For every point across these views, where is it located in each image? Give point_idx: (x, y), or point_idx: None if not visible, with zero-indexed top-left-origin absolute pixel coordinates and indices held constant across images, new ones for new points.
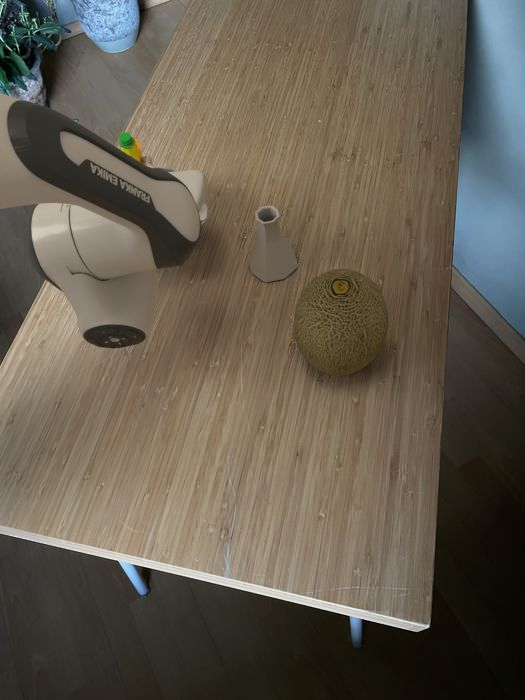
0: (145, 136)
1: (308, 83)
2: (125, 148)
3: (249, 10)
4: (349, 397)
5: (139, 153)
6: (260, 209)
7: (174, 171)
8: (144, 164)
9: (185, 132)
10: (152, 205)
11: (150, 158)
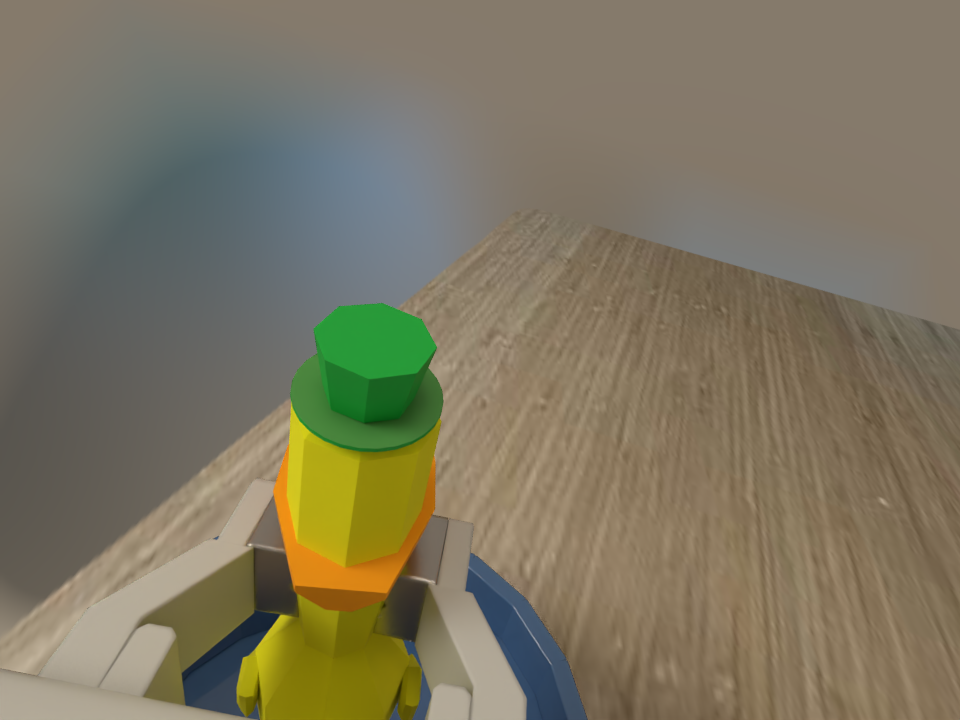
0: None
1: (800, 393)
2: (336, 443)
3: (626, 239)
4: None
5: (421, 500)
6: None
7: (489, 570)
8: (424, 588)
9: (498, 414)
10: None
11: (469, 542)
